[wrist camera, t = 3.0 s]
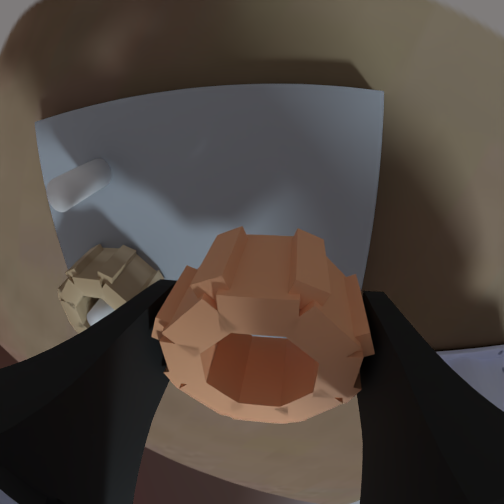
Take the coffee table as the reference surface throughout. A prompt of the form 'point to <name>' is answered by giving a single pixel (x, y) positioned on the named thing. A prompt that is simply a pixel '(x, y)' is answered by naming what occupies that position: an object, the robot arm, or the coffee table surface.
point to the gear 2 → (265, 329)
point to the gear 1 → (103, 281)
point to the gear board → (215, 172)
